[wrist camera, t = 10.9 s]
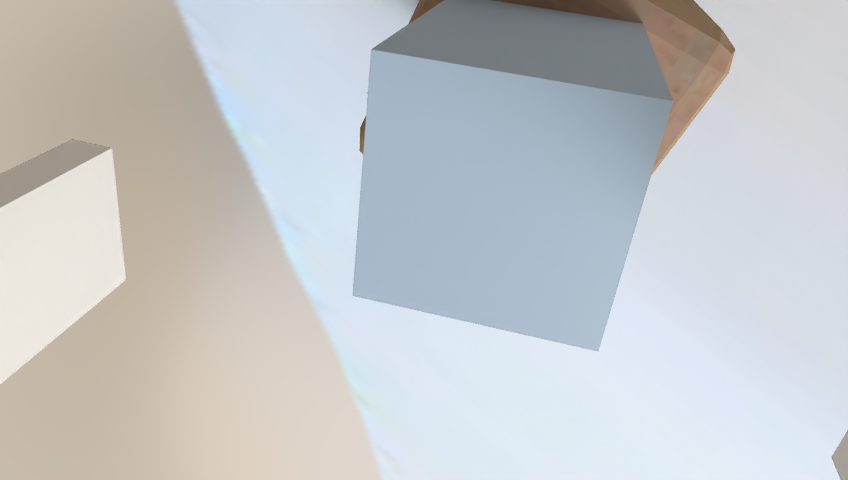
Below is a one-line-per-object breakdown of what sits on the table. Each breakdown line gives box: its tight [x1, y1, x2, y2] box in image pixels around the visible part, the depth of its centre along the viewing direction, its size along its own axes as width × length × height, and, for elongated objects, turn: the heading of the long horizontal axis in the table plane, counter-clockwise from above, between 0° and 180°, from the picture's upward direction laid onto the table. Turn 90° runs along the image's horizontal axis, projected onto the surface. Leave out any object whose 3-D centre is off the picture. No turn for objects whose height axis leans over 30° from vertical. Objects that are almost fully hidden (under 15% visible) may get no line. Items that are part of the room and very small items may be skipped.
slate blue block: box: [353, 0, 673, 351], centre depth 18 cm, size 6×6×9 cm
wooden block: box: [360, 0, 735, 175], centre depth 31 cm, size 10×10×20 cm
